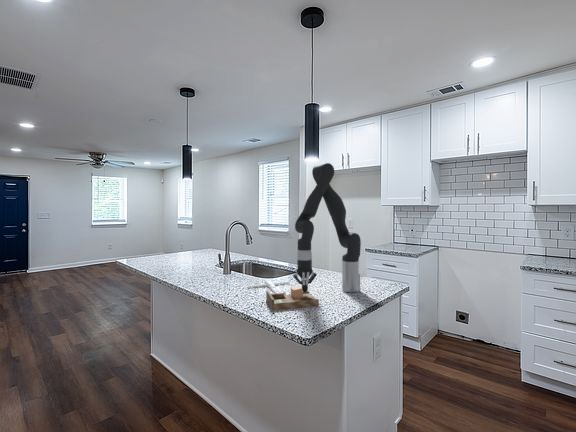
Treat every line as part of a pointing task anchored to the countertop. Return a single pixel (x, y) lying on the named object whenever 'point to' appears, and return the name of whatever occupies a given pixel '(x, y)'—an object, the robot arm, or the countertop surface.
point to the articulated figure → (270, 286)
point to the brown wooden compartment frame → (290, 301)
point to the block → (296, 292)
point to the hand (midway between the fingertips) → (304, 291)
